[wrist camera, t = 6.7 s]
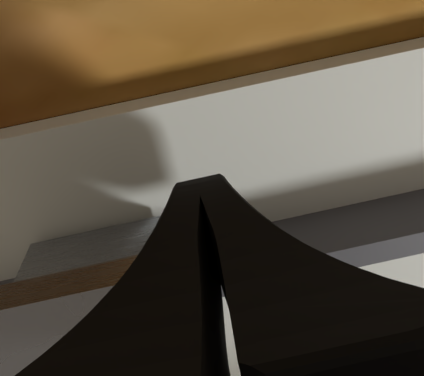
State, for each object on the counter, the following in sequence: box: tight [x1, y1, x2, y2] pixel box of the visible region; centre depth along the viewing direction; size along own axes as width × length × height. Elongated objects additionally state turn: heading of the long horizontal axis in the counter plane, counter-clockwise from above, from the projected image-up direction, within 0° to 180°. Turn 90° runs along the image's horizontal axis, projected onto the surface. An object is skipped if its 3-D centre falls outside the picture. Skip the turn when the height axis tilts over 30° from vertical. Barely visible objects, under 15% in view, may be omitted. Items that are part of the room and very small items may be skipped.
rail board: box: [0, 37, 424, 376], centre depth 14 cm, size 14×22×3 cm, turn 101°
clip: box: [0, 216, 160, 376], centre depth 11 cm, size 6×4×5 cm, turn 11°
